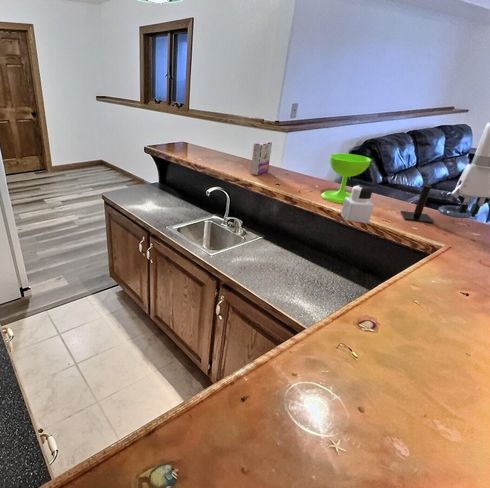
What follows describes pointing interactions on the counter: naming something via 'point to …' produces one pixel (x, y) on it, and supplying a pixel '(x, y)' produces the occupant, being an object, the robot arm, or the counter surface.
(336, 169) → the wineglass
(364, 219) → the container
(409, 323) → the counter surface
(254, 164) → the candy bar box
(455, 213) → the ring
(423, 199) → the stand
